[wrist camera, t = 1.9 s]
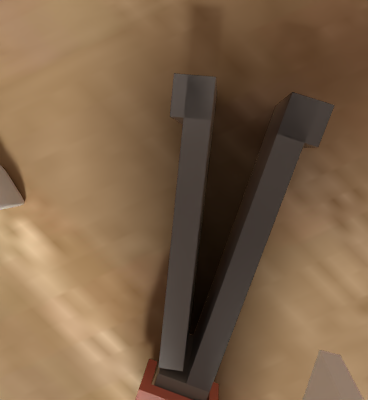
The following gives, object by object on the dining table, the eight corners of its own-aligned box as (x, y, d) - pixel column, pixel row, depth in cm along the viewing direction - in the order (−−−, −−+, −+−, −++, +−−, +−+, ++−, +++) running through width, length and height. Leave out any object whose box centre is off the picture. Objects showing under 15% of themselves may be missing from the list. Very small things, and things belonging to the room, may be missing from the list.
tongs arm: (190, 327, 34) (182, 371, 27) (161, 322, 35) (146, 365, 28) (217, 93, 31) (216, 76, 24) (184, 90, 31) (174, 73, 24)
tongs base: (196, 410, 36) (190, 475, 29) (148, 392, 36) (131, 452, 29) (307, 115, 30) (334, 105, 23) (250, 97, 31) (259, 81, 24)
